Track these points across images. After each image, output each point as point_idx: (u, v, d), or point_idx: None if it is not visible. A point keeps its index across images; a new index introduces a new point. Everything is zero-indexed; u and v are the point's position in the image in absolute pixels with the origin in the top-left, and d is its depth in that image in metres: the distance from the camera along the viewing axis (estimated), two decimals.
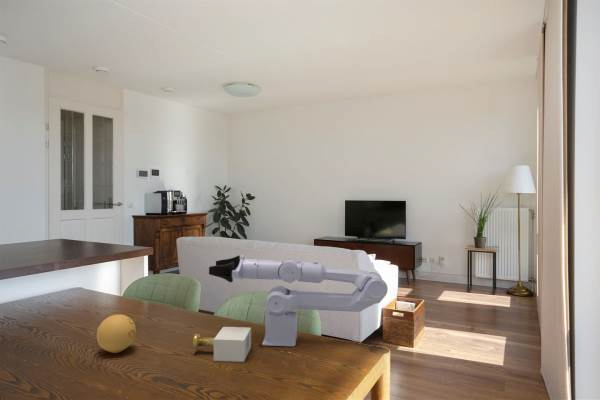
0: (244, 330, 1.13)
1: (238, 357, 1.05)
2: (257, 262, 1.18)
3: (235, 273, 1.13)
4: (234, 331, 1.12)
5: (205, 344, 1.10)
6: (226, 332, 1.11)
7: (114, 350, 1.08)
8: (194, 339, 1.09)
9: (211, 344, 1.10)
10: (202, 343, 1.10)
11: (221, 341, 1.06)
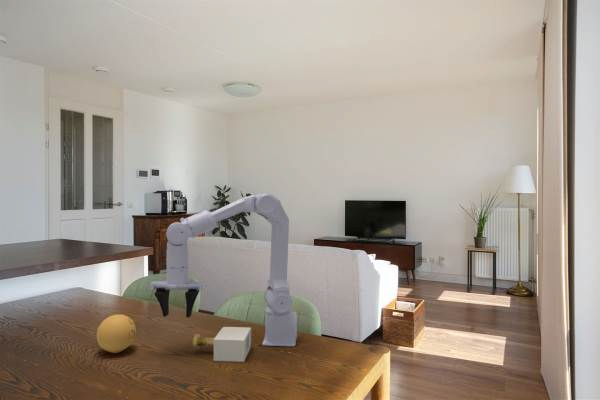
0: (244, 330, 1.13)
1: (238, 357, 1.05)
2: (180, 268, 1.09)
3: (203, 286, 1.10)
4: (234, 331, 1.12)
5: (205, 344, 1.10)
6: (226, 332, 1.11)
7: (114, 350, 1.08)
8: (194, 339, 1.09)
9: (211, 344, 1.10)
10: (202, 343, 1.10)
11: (221, 341, 1.06)
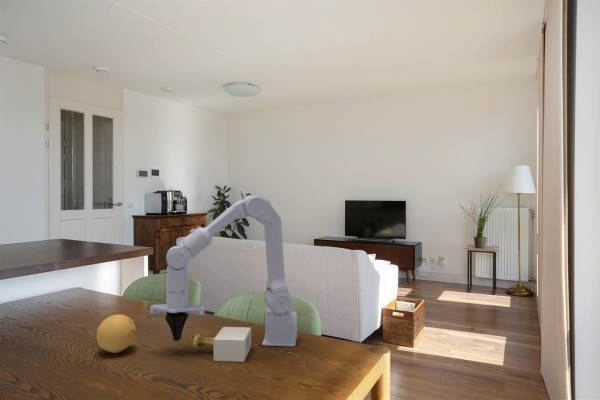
0: (244, 330, 1.13)
1: (238, 357, 1.05)
2: (180, 292, 1.09)
3: (203, 310, 1.10)
4: (234, 331, 1.12)
5: (205, 344, 1.10)
6: (226, 332, 1.11)
7: (114, 350, 1.08)
8: (194, 339, 1.09)
9: (211, 344, 1.10)
10: (202, 343, 1.10)
11: (221, 341, 1.06)
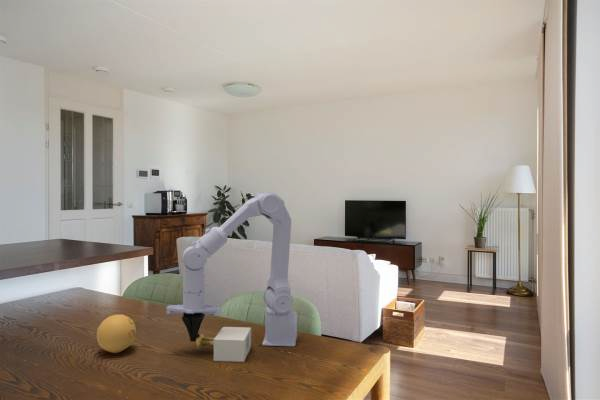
0: (244, 330, 1.13)
1: (238, 357, 1.05)
2: (196, 293, 1.08)
3: (219, 311, 1.10)
4: (234, 331, 1.12)
5: (208, 344, 1.10)
6: (226, 332, 1.11)
7: (114, 350, 1.08)
8: (197, 339, 1.09)
9: None
10: (206, 343, 1.10)
11: (221, 341, 1.06)
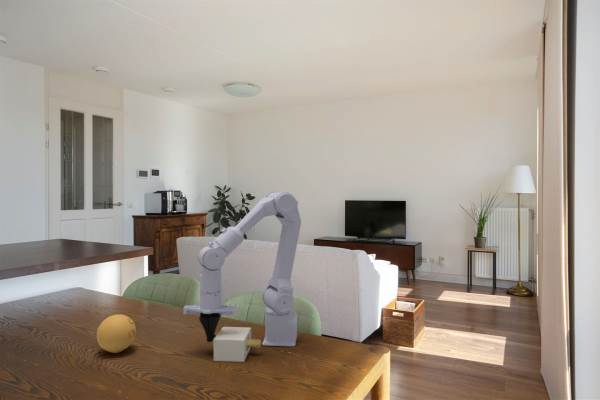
0: (244, 330, 1.13)
1: (238, 357, 1.05)
2: (214, 293, 1.08)
3: (236, 311, 1.10)
4: (234, 331, 1.12)
5: None
6: (226, 332, 1.11)
7: (114, 350, 1.08)
8: None
9: None
10: None
11: (221, 341, 1.06)
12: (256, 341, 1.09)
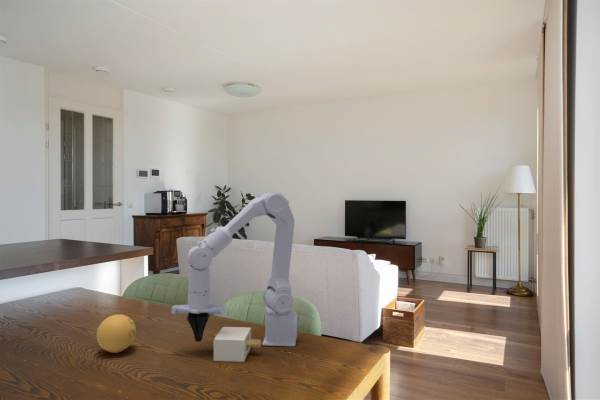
0: (244, 330, 1.13)
1: (238, 357, 1.05)
2: (202, 293, 1.08)
3: (224, 311, 1.10)
4: (234, 331, 1.12)
5: None
6: (226, 332, 1.11)
7: (114, 350, 1.08)
8: None
9: None
10: None
11: (221, 341, 1.06)
12: (256, 341, 1.09)
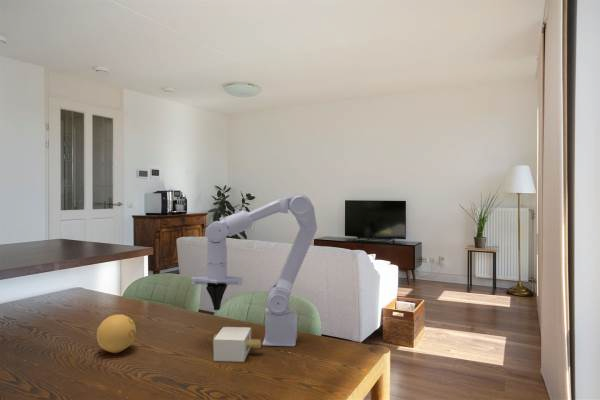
0: (244, 330, 1.13)
1: (238, 357, 1.05)
2: (220, 264, 1.16)
3: (241, 281, 1.18)
4: (234, 331, 1.12)
5: None
6: (226, 332, 1.11)
7: (114, 350, 1.08)
8: None
9: None
10: None
11: (221, 341, 1.06)
12: (256, 341, 1.09)
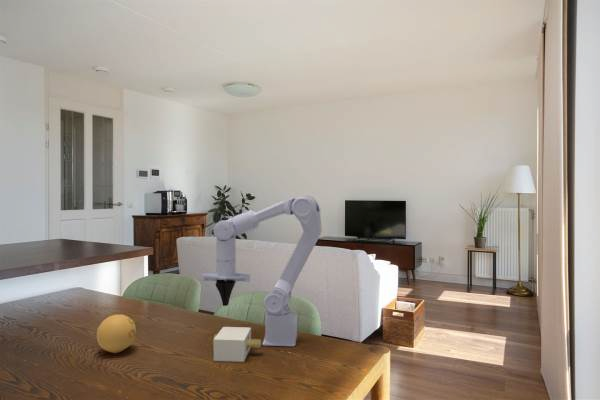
0: (244, 330, 1.13)
1: (238, 357, 1.05)
2: (229, 261, 1.20)
3: (249, 278, 1.22)
4: (234, 331, 1.12)
5: None
6: (226, 332, 1.11)
7: (114, 350, 1.08)
8: None
9: None
10: None
11: (221, 341, 1.06)
12: (256, 341, 1.09)
